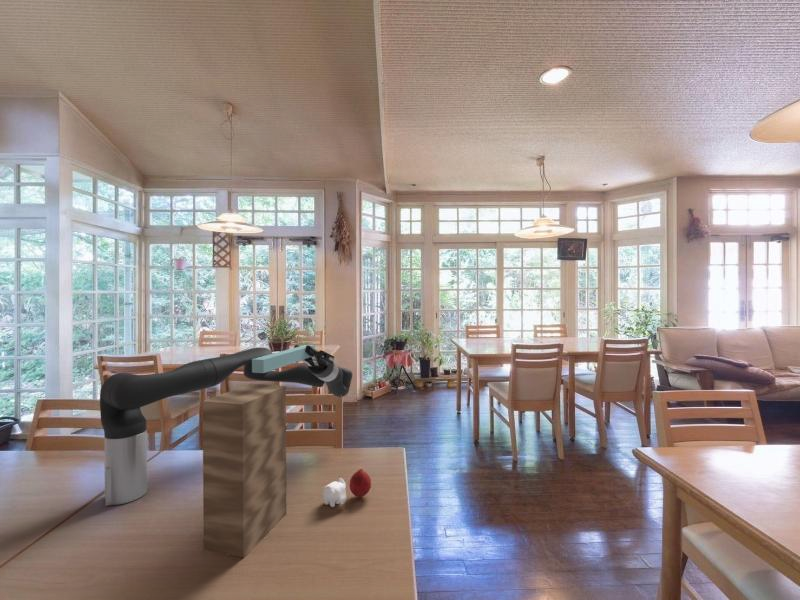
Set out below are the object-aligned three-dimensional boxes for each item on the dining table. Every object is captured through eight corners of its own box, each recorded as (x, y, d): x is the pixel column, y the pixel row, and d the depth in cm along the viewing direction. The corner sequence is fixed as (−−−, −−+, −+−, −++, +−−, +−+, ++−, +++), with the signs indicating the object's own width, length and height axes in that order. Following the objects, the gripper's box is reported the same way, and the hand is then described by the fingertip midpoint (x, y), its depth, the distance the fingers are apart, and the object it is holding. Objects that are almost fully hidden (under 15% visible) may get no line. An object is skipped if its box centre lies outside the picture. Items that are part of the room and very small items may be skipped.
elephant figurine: (336, 515, 91) (336, 491, 90) (313, 505, 95) (313, 482, 95) (353, 502, 96) (353, 480, 96) (331, 493, 101) (331, 472, 100)
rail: (263, 373, 88) (263, 359, 87) (252, 372, 88) (251, 359, 88) (315, 355, 113) (314, 345, 113) (305, 355, 113) (305, 344, 113)
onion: (367, 504, 95) (367, 474, 95) (346, 502, 96) (346, 472, 96) (373, 493, 101) (373, 464, 101) (353, 490, 102) (353, 462, 102)
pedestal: (243, 558, 76) (242, 404, 75) (203, 549, 78) (202, 400, 78) (286, 513, 91) (285, 386, 91) (251, 507, 94) (251, 383, 93)
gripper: (307, 355, 126) (283, 335, 111) (345, 357, 122) (325, 337, 108) (302, 377, 122) (276, 359, 108) (341, 379, 119) (319, 361, 104)
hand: (301, 348), depth 108 cm, fingers closed on rail, 3 cm apart
